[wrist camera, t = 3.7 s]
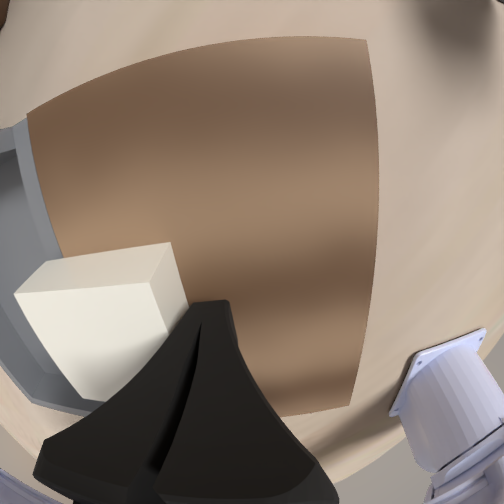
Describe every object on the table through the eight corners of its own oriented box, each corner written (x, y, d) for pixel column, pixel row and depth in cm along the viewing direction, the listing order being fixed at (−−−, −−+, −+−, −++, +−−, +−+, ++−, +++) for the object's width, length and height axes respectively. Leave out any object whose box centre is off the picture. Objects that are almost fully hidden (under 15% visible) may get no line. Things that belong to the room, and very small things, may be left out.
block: (207, 362, 12) (202, 407, 10) (98, 361, 12) (82, 398, 10) (170, 241, 9) (149, 282, 7) (46, 261, 9) (13, 293, 7)
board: (338, 369, 17) (349, 405, 14) (165, 386, 17) (158, 420, 15) (337, 56, 9) (366, 39, 6) (67, 110, 9) (26, 113, 7)
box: (159, 386, 17) (150, 426, 14) (46, 374, 18) (31, 402, 15) (59, 113, 9) (10, 120, 6) (-45, 182, 10) (-77, 199, 7)
